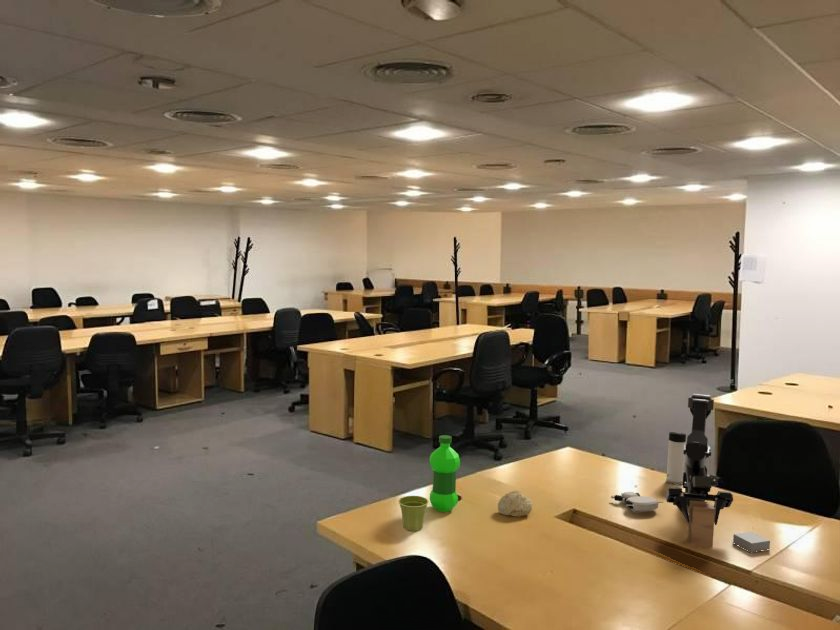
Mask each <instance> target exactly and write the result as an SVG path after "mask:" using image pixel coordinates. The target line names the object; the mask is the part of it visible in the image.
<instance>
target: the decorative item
mask: <svg viewBox="0 0 840 630" xmlns="http://www.w3.org/2000/svg"><path fill="white" fill-rule="evenodd" d="M532 510H533V502H532V500H531V499H530V498H528V497H526V496H525V495H524V494H523V493H522V492H521V491H519V490H512V491H510V492H507V493H505V494H504V495H503V496H502V497H501V498H500V499H499V500H498V502H497V511H498V513H499V514H500V515H504V516H512V517H515V516H518V517H524V516H528V515H529V514H530V513H531V511H532Z"/></svg>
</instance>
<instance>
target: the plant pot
mask: <svg viewBox="0 0 840 630" xmlns="http://www.w3.org/2000/svg"><path fill="white" fill-rule="evenodd" d="M429 501H430V500H429V499H428V498H427V497H424V496H419V495H406V496H403V497H400V498H399V499H398V504H399V507H400V510H401V518H402V526H403V528H404V529H405V530H406V531H410V532H416V531H417V530H419V531H421V530H422V529H423V527H424V520H425V516H426V515H425V514H426V509H427V506H428V504H429Z"/></svg>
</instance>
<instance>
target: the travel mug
mask: <svg viewBox="0 0 840 630" xmlns="http://www.w3.org/2000/svg"><path fill="white" fill-rule="evenodd" d="M685 443H687V434H686V433H683V432H681V433H679V432H673V431H669V433H668V444H667V445H668V446H667V461H666V478H665V479H666V480H665V482H667V483H668V482H669V483H668V484H670V483H673V484H672V485H674V484H681V483H683V472H684V471H685V462H686V455H685V454H683V451H684V444H685ZM681 485H682V484H681Z"/></svg>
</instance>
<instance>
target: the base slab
mask: <svg viewBox="0 0 840 630" xmlns="http://www.w3.org/2000/svg"><path fill="white" fill-rule="evenodd" d="M732 538H733V541H732V544H733V543H735V544H736V545H735V544H734V545H735V546H737V545H739V546H740V547H742V548H744V549H746V550H748V551H750V552H756V551H761V550H767V549H769V550H770V548H771V547H770V546H771V540H770V539H768V538H766V537H763V536H762V535H759V534H758V533H755V532H754V531H744V532H738V533H733V537H732ZM739 546H738V547H739ZM740 547H739V548H740ZM742 548H741V549H742ZM744 549H743V550H744ZM746 550H745V551H746ZM748 551H747V552H748ZM750 552H749V553H750ZM756 553H757V552H756Z"/></svg>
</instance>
